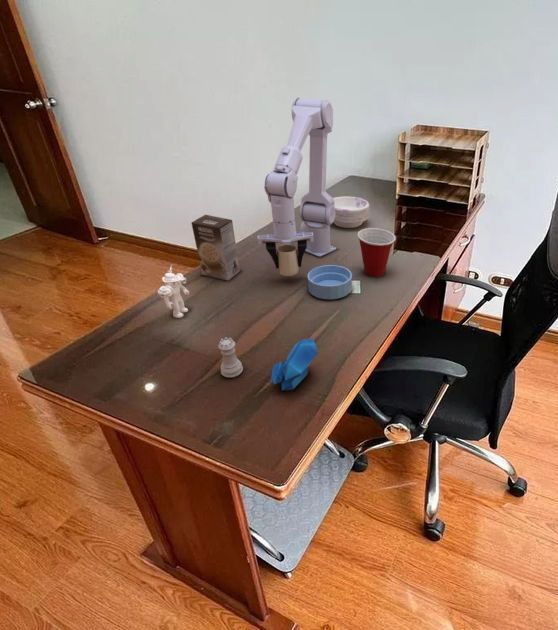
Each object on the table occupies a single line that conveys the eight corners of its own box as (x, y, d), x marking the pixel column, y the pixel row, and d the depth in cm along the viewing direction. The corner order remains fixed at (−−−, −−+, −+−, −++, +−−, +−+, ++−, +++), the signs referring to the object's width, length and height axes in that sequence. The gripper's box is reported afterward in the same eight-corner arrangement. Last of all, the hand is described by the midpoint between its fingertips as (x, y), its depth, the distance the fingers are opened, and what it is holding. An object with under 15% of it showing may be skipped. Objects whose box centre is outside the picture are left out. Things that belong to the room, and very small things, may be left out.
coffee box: (200, 275, 125) (189, 222, 116) (214, 265, 130) (204, 214, 121) (228, 281, 123) (218, 227, 114) (241, 271, 128) (233, 218, 119)
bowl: (299, 290, 119) (298, 276, 117) (329, 274, 127) (329, 261, 125) (331, 305, 113) (330, 291, 111) (360, 288, 121) (360, 274, 118)
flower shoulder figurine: (182, 302, 113) (172, 261, 106) (196, 304, 112) (186, 262, 106) (162, 322, 105) (149, 278, 99) (177, 324, 105) (165, 280, 98)
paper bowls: (376, 221, 162) (377, 200, 158) (353, 235, 151) (353, 213, 147) (343, 213, 169) (343, 192, 164) (318, 225, 158) (317, 203, 154)
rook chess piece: (223, 365, 93) (216, 334, 88) (244, 364, 93) (239, 334, 89) (219, 379, 89) (212, 348, 85) (241, 378, 89) (235, 347, 85)
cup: (274, 271, 122) (272, 248, 118) (289, 264, 125) (287, 242, 121) (288, 278, 119) (286, 254, 115) (303, 270, 122) (301, 248, 119)
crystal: (258, 368, 82) (290, 324, 89) (269, 394, 88) (298, 351, 96) (292, 379, 79) (322, 333, 87) (301, 405, 86) (329, 360, 93)
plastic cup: (390, 283, 124) (392, 244, 117) (353, 278, 125) (353, 240, 119) (396, 266, 133) (398, 229, 126) (361, 262, 134) (362, 225, 128)
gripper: (254, 226, 109) (261, 274, 117) (313, 223, 112) (315, 270, 119) (255, 216, 115) (261, 262, 122) (311, 213, 117) (313, 259, 125)
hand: (288, 266), depth 121 cm, fingers closed on cup, 5 cm apart
